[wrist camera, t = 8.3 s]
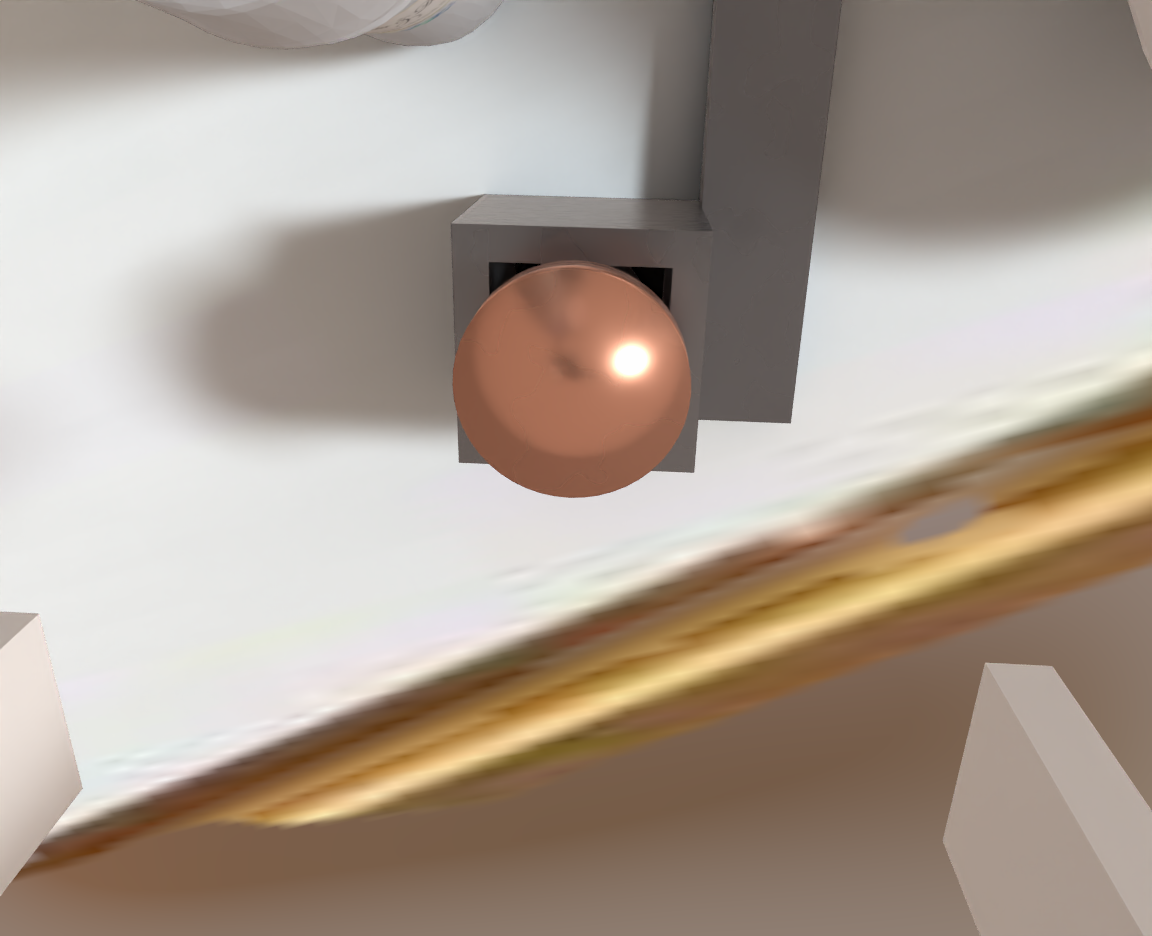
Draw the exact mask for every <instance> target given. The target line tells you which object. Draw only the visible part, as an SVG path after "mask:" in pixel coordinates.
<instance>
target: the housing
mask: <svg viewBox="0 0 1152 936" xmlns="http://www.w3.org/2000/svg"><path fill="white" fill-rule="evenodd" d="M841 3H842V0H713V14H712V28H711V42H710V56H709V70H708V84H707V98H706V112H705V126H704V140H703V154H702V168H701V182H700V196H699V201H697V200H662V199H628V198H594V197H559V196H525V195H491V194H484V195H483V196H482V197H481V198H480V199H479V200H478V201H476V202H475V203H474V204H473V205H472V206H471V207H469V208H468V209H467V210H466V211H465V212H464V213H462V214H461V215H460V216H459V217H458V218H457V219H455V220H454V221H453V222H452V223H451V238H452V268H453V298H454V328H455V356H456V353H457V350H458V347H459V343H460V341H461V339H462V337H463V334H464V332H465V330H466V328H467V327H468V325H469V323H470V322H471V320H472V319H473V317H474V316H475V314H476V313H477V311H478V310H479V308H480V307H481V305H482V304H483V302H484V301H485V300H486V299H487V298H488V297H489V296H490V295H491V293H492V292H493V291H495V290H496V289H497V288H498V287H499V286H501V285H502V284H503V283H504V282H506V281H507V280H509V279H510V278H512V277H513V276H515V275H516V272H515V263H536V264H545V263H551V262H556V261H569V260H579V261H589V262H595V263H599V264H604V265H608V266H628V267H659V268H664V281H663V298H662V302H663V303H664V304H665V305H666V307H667V308H668V309H669V311H670V312H671V314H672V316H673V317H674V319H675V320H676V322H677V324H678V327H679V329H680V331H681V333H682V336H683V339H684V343H685V346H686V350H687V355H688V361H689V368H690V375H691V398H690V405H689V410H688V414H687V417H686V421H685V424H684V426H683V429H682V431H681V433H680V435H679V437H678V439H677V441H676V442H675V444H674V445H673V447H672V449H671V450H670V451H669V453H668V454H667V455H666V456H665V457H664V459H663V460H662V461H661V462H660V463H659V464H658V465H657V466H656V467H655V468H653V469H652V470H651V471H667V472H690V473H694V467H695V455H696V442H697V429H698V420H721V421H746V422H771V423H791V416H792V408H793V399H794V391H795V383H796V375H797V366H798V358H799V350H800V342H801V333H802V325H803V317H804V309H805V300H806V292H807V284H808V276H809V267H810V259H811V251H812V243H813V234H814V226H815V218H816V210H817V201H818V193H819V185H820V177H821V168H822V160H823V152H824V144H825V135H826V127H827V119H828V111H829V102H830V94H831V86H832V78H833V69H834V61H835V53H836V45H837V36H838V28H839V20H840V12H841ZM457 419H458V449H459V463H480V464H488V462H487V461H486V460H485V459H484V458H483V457H482V456H481V455H480V454H479V453H478V451H477V450H476V449H475V447H474V446H473V444H472V443H471V442H470V440H469V438H468V436H467V435H466V433H465V431H464V429H463V427H462V424H461V422H460V419H459V417H458V414H457Z"/></svg>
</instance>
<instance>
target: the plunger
mask: <svg viewBox="0 0 1152 936" xmlns="http://www.w3.org/2000/svg"><path fill="white" fill-rule="evenodd" d="M453 394H454V402H455V406H456V410H457V414H458V417H459V419H460V422H461V424H462V427H463V429H464V431H465V433H466V435H467V436H468V438H469V440H470V442H471V443H472V444H473V446H474V447H475V449H476V450H477V451H478V453H479V454H480V455H481V456H482V457H483V458H484V459H485V460H486V461H487V462H488V464H490V465H491V466H492V467H493V468H494V469H496V470H497V471H498V472H499V473H500V474H502V475H504V476H505V477H507V478H508V479H510V480H511V481H513V482H515V483H517V484H519V485H521V486H523V487H525V488H528V489H530V490H533V491H536V492H539V493H543V494H547V495H552V496H558V497H568V498H575V497H590V496H598V495H602V494H606V493H610V492H613V491H616V490H618V489H621V488H623V487H626V486H628V485H630V484H632V483H633V482H635V481H637V480H639V479H640V478H642V477H643V476H644V475H646V474H647V473H649V472H650V471H651V470H652V469H653V468H655V467H656V466H657V465H658V464H659V463H660V462H661V461H662V460H663V459H664V457H665V456H666V455H667V454H668V453H669V451H670V450H671V449H672V447H673V445H674V444H675V442H676V441H677V439H678V437H679V435H680V433H681V431H682V429H683V426H684V424H685V421H686V417H687V414H688V410H689V405H690V398H691V375H690V368H689V361H688V355H687V350H686V346H685V343H684V339H683V336H682V333H681V331H680V329H679V327H678V324H677V322H676V320H675V319H674V317H673V316H672V314H671V312H670V311H669V309H668V308H667V307H666V305H665V304H664V303H663V302H662V300H661V299H660V298H659V297H658V296H657V295H656V294H655V293H654V292H653V291H652V290H651V289H649V288H648V287H647V286H646V285H644V284H643V283H642V282H641V281H640V279H639V278H638V276H637V275H636V273H635V272H634V271H633V270H632V269H631V268H630V267H628V266H608V265H604V264H599V263H595V262H589V261H579V260H569V261H556V262H551V263H545V264H542V265H538V266H535V267H532V268H529V269H527V270H525V271H523V272H521V273H519V274H517V275H515V276H513V277H512V278H510V279H509V280H507V281H506V282H504V283H503V284H502V285H501V286H499V287H498V288H497V289H496V290H495V291H493V292H492V293H491V295H490V296H489V297H488V298H487V299H486V300H485V301H484V302H483V304H482V305H481V307H480V308H479V310H478V311H477V313H476V314H475V316H474V317H473V319H472V320H471V322H470V323H469V325H468V327H467V328H466V330H465V332H464V334H463V337H462V339H461V341H460V343H459V347H458V350H457V353H456V356H455V362H454V368H453Z"/></svg>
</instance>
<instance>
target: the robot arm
mask: <svg viewBox="0 0 1152 936" xmlns="http://www.w3.org/2000/svg"><path fill="white" fill-rule="evenodd" d="M82 789H83V788H82V784H81V780H80V776H79V772H78V768H77V764H76V760H75V756H74V752H73V748H72V744H71V740H70V736H69V732H68V728H67V724H66V720H65V716H64V712H63V708H62V704H61V700H60V696H59V692H58V688H57V684H56V680H55V676H54V672H53V668H52V664H51V660H50V656H49V652H48V648H47V643H46V639H45V635H44V631H43V627H42V623H41V619H40V615H39V614H36V613H17V612H0V896H1V894H2V893H3V891H5V889H6V888H7V887H8V885H9V884H10V883H11V881H12V880H13V879H14V877H15V876H16V875H17V874H18V872H19V871H20V870H21V868H22V867H23V866H24V864H25V863H26V862H27V860H28V859H29V858H30V857H31V855H32V854H33V853H34V851H35V850H36V849H37V847H38V846H39V845H40V843H41V842H42V841H43V840H44V838H45V837H46V836H47V834H48V833H49V832H50V830H51V829H52V828H53V826H54V825H55V824H56V823H57V821H58V820H59V819H60V817H61V816H62V815H63V813H64V812H65V811H66V809H67V808H68V807H69V806H70V804H71V803H72V802H73V800H74V799H75V798H76V796H77V795H78V794H79V792H80V791H81V790H82ZM943 842H944V845H945V847H946V850H947V853H948V855H949V858H950V860H951V863H952V865H953V868H954V870H955V873H956V875H957V878H958V881H959V883H960V885H961V888H962V891H963V893H964V896H965V898H966V901H967V903H968V906H969V909H970V911H971V914H972V916H973V919H974V921H975V924H976V926H977V929H978V932H979V934H980V936H1152V811H1151V809H1150V808H1149V807H1148V805H1147V803H1146V802H1145V800H1144V799H1143V797H1142V796H1141V795H1140V793H1139V792H1138V790H1137V789H1136V787H1135V786H1134V784H1133V783H1132V782H1131V780H1130V779H1129V777H1128V776H1127V774H1126V773H1125V771H1124V770H1123V769H1122V767H1121V765H1120V764H1119V763H1118V761H1117V760H1116V758H1115V757H1114V756H1113V754H1112V752H1111V751H1110V749H1109V748H1108V747H1107V745H1106V744H1105V742H1104V741H1103V739H1102V738H1101V737H1100V735H1099V733H1098V732H1097V731H1096V729H1095V728H1094V726H1093V725H1092V723H1091V722H1090V720H1089V719H1088V717H1087V716H1086V715H1085V713H1084V712H1083V710H1082V709H1081V707H1080V706H1079V704H1078V703H1077V701H1076V700H1075V699H1074V697H1073V696H1072V694H1071V693H1070V691H1069V690H1068V688H1067V687H1066V685H1065V684H1064V683H1063V681H1062V680H1061V678H1060V677H1059V675H1058V674H1057V672H1056V671H1055V669H1054V668H1053V667H1052V666H1037V665H1018V664H999V663H985V666H984V670H983V674H982V678H981V683H980V687H979V691H978V695H977V700H976V704H975V708H974V712H973V716H972V720H971V725H970V729H969V733H968V737H967V742H966V746H965V750H964V754H963V758H962V762H961V767H960V771H959V776H958V779H957V783H956V788H955V792H954V797H953V800H952V805H951V809H950V813H949V817H948V821H947V826H946V830H945V834H944V838H943Z"/></svg>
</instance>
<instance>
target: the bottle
mask: <svg viewBox="0 0 1152 936" xmlns="http://www.w3.org/2000/svg"><path fill="white" fill-rule="evenodd" d="M136 1H139V2H142V3H144V4H147V5H149V6H152V7H155V8H157V9H159V10H162V11H164V12H166V13H169V14H171V15H173V16H176V17H178V18H180V19H183V20H185V21H187V22H188V23H190V24H192V25H194V26H196V27H198V28H200V29H202V30H203V31H205V32H207V33H210V34H213V35H215V36H218V37H221V38H224V39H226V40H229V41H232V42H236V43H240V44H245V45H249V46H254V47H259V48H276V49H294V48H305V47H311V46H316V45H324V44H333V43H337V42H341V41H344V40H348V39H351V38H355V37H357V36H360V35H362V34H366V35H369V36H371V37H373V38H375V39H379V40H382V41H386V42H390V43H395V44H400V45H406V46H431V45H437V44H442V43H448V42H452V41H455V40H457V39H460V38H462V37H464V36H466V35H468V34H469V33H471V32H473V31H474V30H475V29H476V28H478V27H479V26H480V25H481V24H482V23H483V22H485V21H486V20H487V19H488V18H489V17H491V16H492V14H493V13H494V12H495V11H496V10H497V8H498V7H499V6H500V5H501V3H502V2H503V1H504V0H136Z"/></svg>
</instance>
